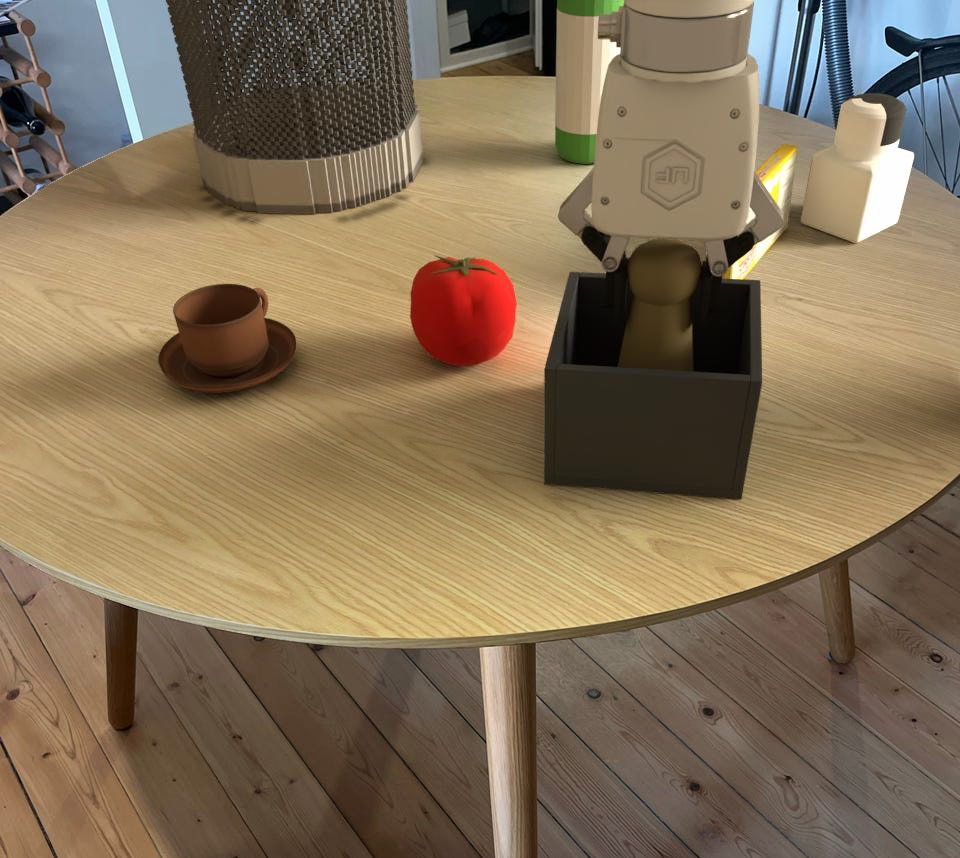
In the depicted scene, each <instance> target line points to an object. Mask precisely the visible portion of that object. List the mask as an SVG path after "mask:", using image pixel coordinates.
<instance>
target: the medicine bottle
mask: <svg viewBox="0 0 960 858" xmlns="http://www.w3.org/2000/svg"><path fill="white" fill-rule="evenodd" d="M906 114H907V107H906V105H905V103H904V102H903V101H902V100H900V99H898V97H897V98H896V97H895V96H892V95H889V94H886V93H885V94H884V93H878V92H873V93H872V92H868V93H867V92H866V93H860V94H856V95H854V96H851V97H848V98H846V99H845V101H843V102H842V103H841V106H840V110H839V114H838V120H837V123H836V124H837V125H836V129H835V135H834V140H833V143H834V144H832V145H830V146H828V147H826V148H823V149H821V150H819V151H817V152H814V153H813V155H812V157H811V163H810V168H809V172H808V177H807V185H806V190H805V196H804V200H803V206H802V210H801V216H800V223H801V224H802V225H804V226H807V227H810V228H812V229H815V230H817V231H821V232H823V233H826V234H829V235H832V236H833V237H837V238H839V239H842V240H845V241H847V242H850V243H853V244H858V243H860V242H862V241H865V240H866V239H869V238H871V237H872V236H874V235H876V234H878V233H880V232H883V231H884V230H886V229H888V228H889V227H890V228H891V227H892V226H894V225H896V224H898V222H899V218H900V214H901V210H902V206H903V203H904V198H905V195H906V190H907V186H908V182H909V178H910V175H911V170H912V167H913V163H914V159H915V153H914V152H913V151H910V150H907V149H903V148H900V147H899V143H900V139H901V134H902V131H903V126H904V122H905V119H906Z"/></svg>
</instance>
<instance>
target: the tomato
mask: <svg viewBox="0 0 960 858" xmlns="http://www.w3.org/2000/svg"><path fill="white" fill-rule="evenodd" d="M434 257H436V258H438V259H435V260H432V261H428V262H427V263H425V264H424V265H423V266H421V267H420V268H419V269H418V270H417V273H416V274H415V276H414V278H413V280H412V284H411V289H410V309H409V310H410V311H409V312H410V313H409V318H410V323H411V327H412V331H413V333H414V336H415V337H416V339H417V341H418V343H419V345H420V347H421V348H422V349H423V350H424V351H425V352H426V353H427V354H428V355H429V356H430V357H432V358H433V359H435V360H437V361H439V362H441V363H446V364H449V365H454V366H456V367H461V366H462V367H463V366H478V365H479V364H483V363H485V362H487V361H490V360H493V359H494V358H496V357H497V356H498V355H499V354H500V353H501V352H503V351H504V350H505V348H506V347H507V345H508V344H509V343H510V341H511V340H512V339H513V335H514V330H515V325H516V314H517V308H518V303H517V297H516V296H517V295H516V292H515V291H516V290H515V286H514V283H513V282H512V280H511V279H510V277H509V276H508V274H507V273H506V271H505V270H504V269H503V268H502V267H500V266H499V265H497V264H496V263H495V262H494V261H491V260H489V259H485V258H477V256H476V257H465V258H464V259H463V258H462V259H458V258H455V257H454V258H453V257H451V256H448V257H443V256H442V257H441V256H438V255H434Z"/></svg>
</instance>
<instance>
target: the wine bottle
mask: <svg viewBox="0 0 960 858" xmlns="http://www.w3.org/2000/svg"><path fill="white" fill-rule="evenodd" d="M556 2H557V3H556V4H557V5H556V40H555V41H556V42H555V44H556V47H555V48H556V49H555V51H556V52H555V109H554V111H555V112H554V114H555V115H554V123H555V125H554V126H555V127H554V128H555V129H554V130H555V131H554V133H555V135H554V137H555V138H554V145H555V150H556V152H557V154H558V156H559V157H560V158H561V159H563V160H565V161H567V162H570V163H574V164H581V165H589V164H590V165H592V164H593V163H594V157H595V145H596V135H597V125H598V116H599V109H600V102H601V96H602V90H603V85H604V80H605V76H606V72H607V68H608V65H609V63H610V62H611V60H612V59H613V58H614V57H615V56H616V55H618V54H620V48H616V42H610V39H598V19H599V14H611V13H612V12H618V9H619V6H623V4H624V0H556ZM593 165H594V164H593Z"/></svg>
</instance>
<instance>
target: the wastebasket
mask: <svg viewBox="0 0 960 858" xmlns="http://www.w3.org/2000/svg"><path fill="white" fill-rule="evenodd" d="M249 1H250V3H249ZM353 1H354V2H352V0H323V2H322V0H165V3H166V5H167V12H168V14H169V16H170V17H169V21H170V24H171V30H172V34H173V36H174V43H175V44H176V45H177V46H176V51H177V55H178V61H179V63H180V65H181V66H180V70H181V73H182V79H183V81H184V87H185V91H186V96H187V100H188V105H189V109H190V111H191V112H190V114H191V118H192V120H193V121H192V123H193V126H194V128H193V133H192V134H191V136H192V142H193V145H194V149H195V154H196V158H197V163H198V167H199V172H200V176H201V180H202V184H203V187H204V189H206V190H207V192H208V194H210V195H211V196H213V198H215V199H218V200H219V201H221V203H223V204H226V206H232V208H235V210H242V212H257V214H282V215H283V214H288V215H290V214H291V215H292V214H293V215H315V214H316V213H326V214H327V213H329V214H331V213H333V212H342V211H343V210H347V209H356V208H357V207H361V206H362V205H363V206H364V205H366V204H370V203H372V202H376V201H377V200H378V201H379V200H381V199H385V198H386V197H391V196H392V194H397V192H402V190H403V189H407V188H408V185H409V183H413V182H415V178H416V176H417V175H418V172H419V170H420V168H421V166H422V164H423V161H424V153H423V141H422V128H421V126H422V125H421V114H420V109H419V108H420V107H419V104H417V102H416V100H415V96H414V95H415V89H414V79H413V76H414V75H413V70H412V69H413V68H412V67H413V63H412V62H413V61H412V52H411V42H410V38H411V36H410V33H409V29H410V25H409V14H408V4H407V0H353ZM342 4H343V5H342ZM357 5H358V7H357ZM255 6H256V7H255ZM245 7H246V9H245ZM308 9H309V11H308ZM346 9H347V10H346ZM353 11H354V12H353ZM242 13H243V14H242ZM343 14H344V15H343ZM358 15H359V16H358ZM247 17H248V18H247ZM332 18H333V19H332ZM347 18H348V19H347ZM243 22H244V24H243ZM337 22H338V23H337ZM234 24H236V25H234ZM290 24H291V25H290ZM334 27H335V28H334ZM240 28H241V29H240ZM287 28H288V30H287ZM338 31H339V33H338ZM236 33H237V35H236ZM291 33H292V34H291ZM297 37H298V38H297ZM324 40H325V41H324ZM293 42H294V43H293ZM328 44H329V45H328ZM358 54H359V55H358ZM348 57H349V58H348ZM311 58H312V59H311ZM255 60H256V61H255ZM315 62H316V63H315ZM359 63H360V64H359ZM349 66H350V67H349ZM339 70H340V71H339ZM340 78H341V80H340ZM249 80H250V81H249ZM295 80H296V81H295ZM246 85H247V86H246Z"/></svg>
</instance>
